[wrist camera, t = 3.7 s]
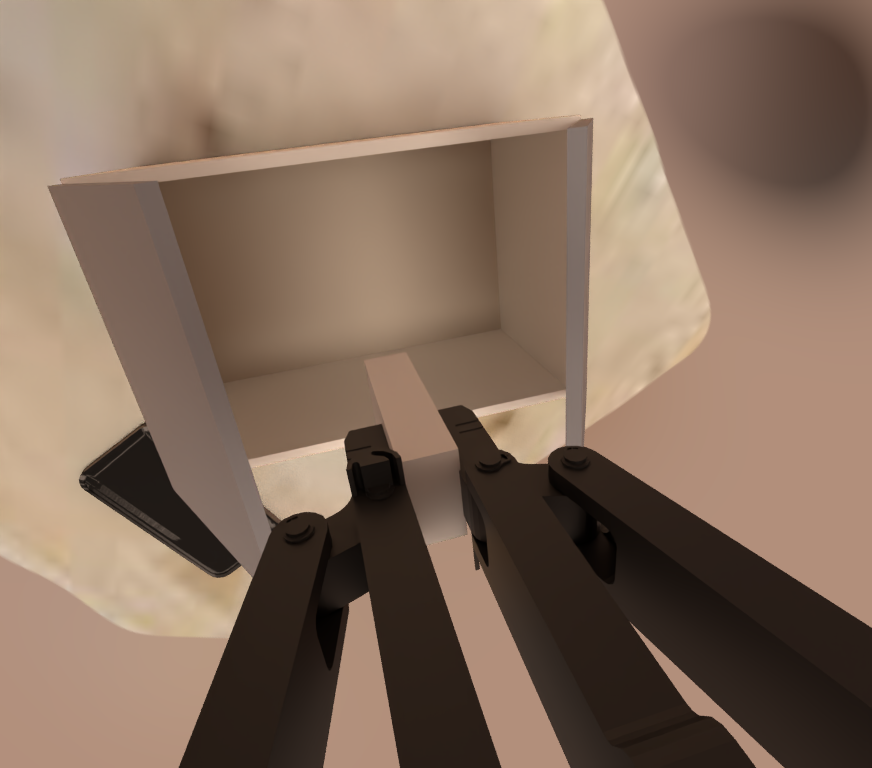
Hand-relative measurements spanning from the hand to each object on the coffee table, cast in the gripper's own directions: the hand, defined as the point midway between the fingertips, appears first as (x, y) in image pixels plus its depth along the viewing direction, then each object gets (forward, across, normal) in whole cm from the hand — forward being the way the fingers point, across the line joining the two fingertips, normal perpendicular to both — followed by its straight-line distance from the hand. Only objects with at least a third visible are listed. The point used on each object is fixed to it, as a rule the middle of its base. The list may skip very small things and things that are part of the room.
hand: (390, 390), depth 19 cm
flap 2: (+4, +10, 0) cm, 11 cm away
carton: (+22, +1, 0) cm, 22 cm away
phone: (+23, -16, -18) cm, 33 cm away
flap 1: (+5, -8, 0) cm, 9 cm away
